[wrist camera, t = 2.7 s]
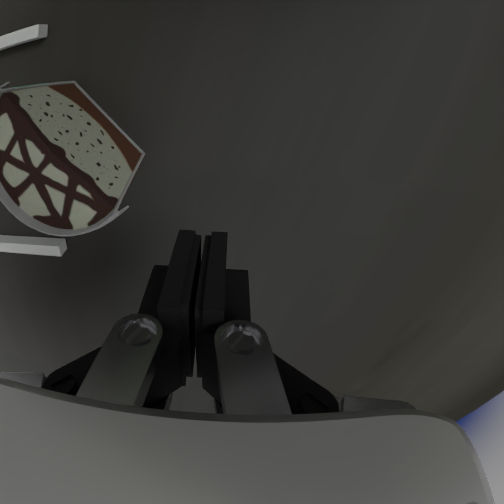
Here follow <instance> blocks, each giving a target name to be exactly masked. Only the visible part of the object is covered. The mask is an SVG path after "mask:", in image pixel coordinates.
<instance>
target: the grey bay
mask: <svg viewBox="0 0 504 504" xmlns="http://www.w3.org/2000/svg"><path fill="white" fill-rule="evenodd" d="M47 31H48V25H47V24H37V25H34V26H30V27H27V28H24V29H21V30H18V31H15V32H12V33H9V34H6V35H3V36H0V51H1V50H4V49H7V48H10V47H13V46H16V45H20V44H23V43H27V42H30V41H34V40H37V39H41V38H45V37H47ZM66 250H67V245H66V241H65V239H64V238H45V237H26V236H7V235H0V252H11V253H23V254H35V255H47V256H60V257H62V255H63V254H64V252H65V251H66Z"/></svg>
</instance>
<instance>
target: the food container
mask: <svg viewBox="0 0 504 504" xmlns="http://www.w3.org/2000/svg"><path fill="white" fill-rule="evenodd" d="M9 84H10V82H9V81H8V82H6V83H5V84H3V85H1V86H0V201H1V202H2V203H3V204H4V206H5V207H6V208H7V209H8V210H9V211H10V212H11V213H12V214H13V215H14V216H15V217H16V218H17V219H18V220H20V221H21V222H23V223H24V224H26V225H27V226H29V227H31V228H33V229H35V230H37V231H39V232H42V233H46V234H49V235H55V236H76V235H81V234H85V233H88V232H91V231H94V230H97V229H99V228H101V227H103V226H105V225H106V224H108V223H110V222H111V221H112V220H114V219H115V218H117V217H118V216H119V215H121V214H122V213H123V212H124V211H125V210H127V209H128V208H129V206H126V207H125V208H123V209H122V210H120V211H118V208H119V206H120V204H121V201H122V199H123V197H124V195H125V193H126V191H127V189H128V187H129V185H130V183H131V181H132V179H133V177H134V175H135V173H136V171H137V169H138V167H139V165H140V163H141V161H142V159H143V158H144V156H145V153H144V152H143V151H142V150H141V149H140V148H139V147H138V146H137V144H136V143H135V142H134V141H133V140H132V139H131V138H130V137H129V136H128V135H127V134H126V133H125V132H124V131H123V130H122V129H121V128H120V127H119V126H118V125H117V124H116V123H115V122H114V121H113V120H112V119H111V118H110V117H109V116H108V115H107V114H106V113H105V112H104V111H103V109H102V108H101V107H100V106H99V105H98V104H97V103H96V102H95V101H94V100H93V99H92V98H91V97H90V96H89V95H88V94H87V93H86V92H85V91H84V90H83V89H82V88H81V87H80V86H79V85H78V84H77V83H76V82H75V81H63V82H52V83H42V84H34V85H26V86H19V87H12V88H8V86H9Z"/></svg>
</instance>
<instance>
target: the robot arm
mask: <svg viewBox="0 0 504 504" xmlns="http://www.w3.org/2000/svg"><path fill="white" fill-rule="evenodd" d="M226 254H227V232H212V235H211V236H208V235H206V236H205V242H204V249H203V255H202V261H201V235H196V233H195V231H192V230H179V233H178V236H177V239H176V243H175V246H174V249H173V253H172V256H171V259H170V263H169V266H163V265H155V266H154V268H153V270H152V273H151V276H150V279H149V282H148V285H147V288H146V291H145V294H144V297H143V300H142V303H141V306H140V309H139V312H138V313H137V314H130V315H127V316H125V317H123V318H121V319H120V320H118V321H117V322H116V324H115V325H114V326H113V328H112V330H111V331H110V333H109V335H108V337H107V338H106V340H105V342H104V344H103V346H101V347H99V348H97V349H96V350H94V351H92V352H90V353H88V354H86V355H84V356H82V357H80V358H78V359H76V360H75V361H73V362H71V363H69V364H67V365H65V366H63V367H61V368H59V369H57V370H55V371H54V372H52V373H51V374H50V375H49V376H45V375H44V373H14V372H0V504H494V500H493V497H492V493H491V489H490V486H489V484H488V481H487V478H486V475H485V472H484V469H483V467H482V464H481V462H480V459H479V457H478V455H477V453H476V450H475V448H474V447H473V445H472V443H471V441H470V439H469V437H468V436H467V434H466V433H465V431H464V430H463V429H462V428H461V426H459V425H458V424H457V423H456V422H455V421H453V420H452V419H450V418H448V417H445V416H443V415H439V414H436V413H432V412H427V411H422V410H416V409H415V408H414V407H413V406H412V405H410V404H409V403H407V402H403V401H396V400H384V399H374V398H364V397H355V396H347V395H344V396H343V398H336V397H334V395H332V394H331V393H330V392H329V391H328V390H326V389H325V388H323V387H322V386H320V385H319V384H317V383H316V382H314V381H313V380H311V379H310V378H308V377H307V376H305V375H304V374H302V373H301V372H300V371H298V370H297V369H295V368H294V367H292V366H291V365H289V364H288V363H287V362H285V361H284V360H282V359H281V358H279V357H278V356H277V355H275V354H274V353H273V352H272V349H271V345H270V342H269V339H268V336H267V334H266V332H265V331H264V330H263V329H262V328H261V327H260V326H259V325H257V324H255V323H253V322H251V317H250V299H249V280H248V270H233V269H226ZM195 348H196V361H197V377H200V378H202V386H203V389H205V390H206V391H207V392H208V393H209V394H210V395H211V396H212V397H213V398H214V408H215V414H210V413H194V412H182V411H171V410H169V408H170V405H171V401H172V396H173V393H172V392H174V391H175V390H177V389H178V388H180V387H181V386H185V385H186V377H192V376H193V367H194V357H195Z"/></svg>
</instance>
